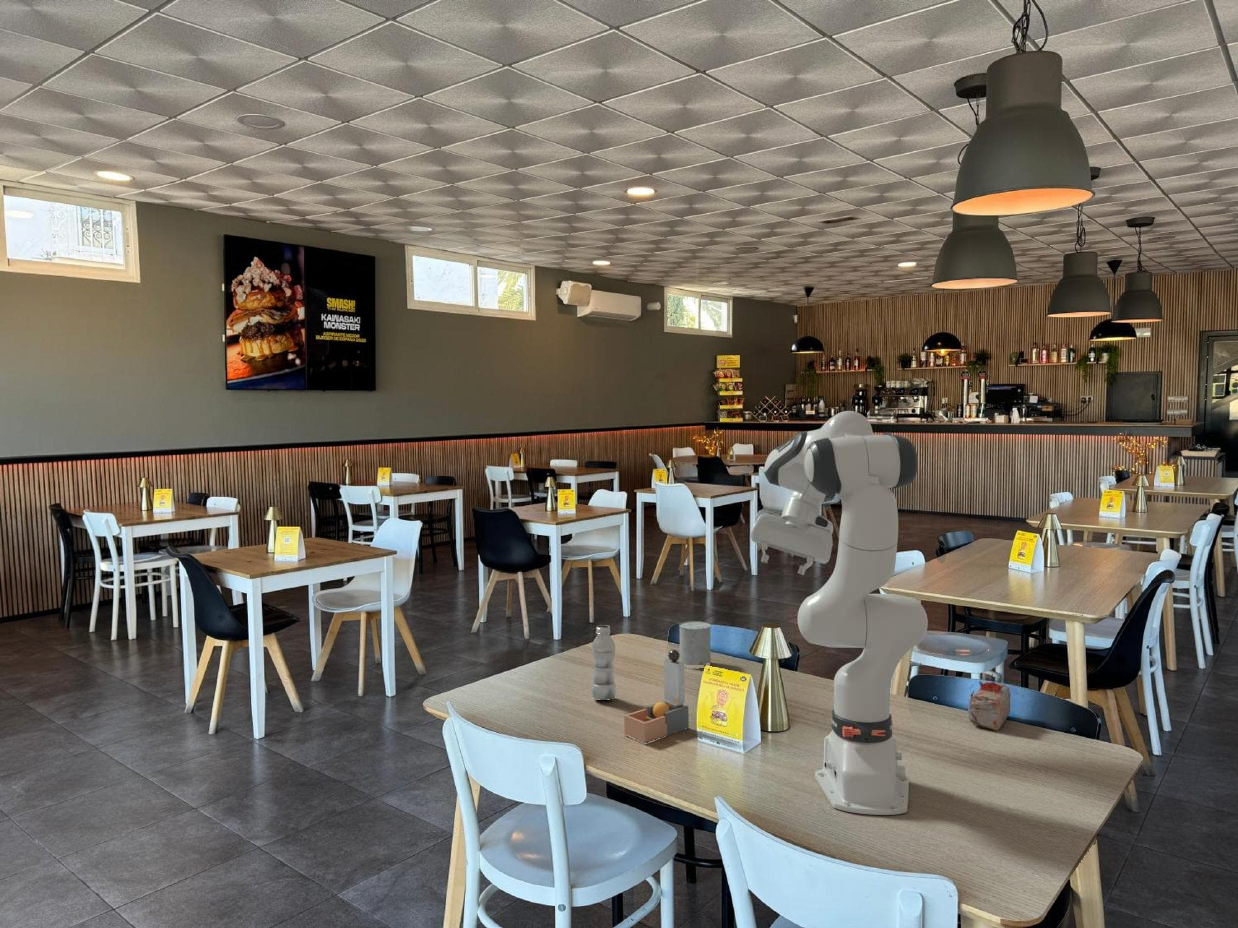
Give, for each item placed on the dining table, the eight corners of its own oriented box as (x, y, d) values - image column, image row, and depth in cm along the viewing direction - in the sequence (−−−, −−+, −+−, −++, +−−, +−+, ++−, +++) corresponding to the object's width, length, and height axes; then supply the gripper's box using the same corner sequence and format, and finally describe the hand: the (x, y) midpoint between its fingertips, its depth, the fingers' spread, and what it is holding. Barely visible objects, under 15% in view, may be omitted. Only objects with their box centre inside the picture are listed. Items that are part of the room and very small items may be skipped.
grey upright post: (671, 709, 206) (670, 646, 205) (685, 714, 202) (685, 650, 202) (661, 712, 204) (660, 649, 203) (675, 717, 200) (675, 653, 199)
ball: (668, 721, 198) (668, 705, 198) (652, 721, 199) (651, 704, 199) (670, 715, 202) (670, 699, 202) (654, 715, 203) (653, 699, 203)
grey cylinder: (678, 668, 250) (677, 628, 250) (681, 659, 260) (680, 620, 259) (709, 669, 249) (709, 629, 248) (711, 660, 258) (711, 621, 257)
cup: (646, 728, 202) (646, 708, 202) (667, 736, 197) (667, 715, 197) (624, 735, 198) (624, 715, 197) (644, 744, 192) (644, 723, 192)
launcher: (669, 720, 207) (669, 699, 207) (688, 728, 202) (688, 706, 202) (647, 728, 202) (647, 706, 202) (666, 736, 197) (666, 713, 197)
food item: (1001, 734, 196) (1002, 693, 195) (966, 727, 200) (966, 687, 200) (1012, 716, 207) (1012, 677, 206) (978, 710, 211) (978, 672, 211)
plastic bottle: (604, 694, 228) (603, 622, 227) (621, 699, 223) (620, 626, 222) (586, 699, 224) (585, 626, 222) (604, 705, 219) (602, 631, 218)
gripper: (759, 501, 211) (741, 550, 206) (839, 525, 204) (822, 576, 199) (760, 511, 216) (743, 558, 212) (838, 534, 209) (821, 584, 205)
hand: (782, 567), depth 205 cm, fingers open, 8 cm apart
